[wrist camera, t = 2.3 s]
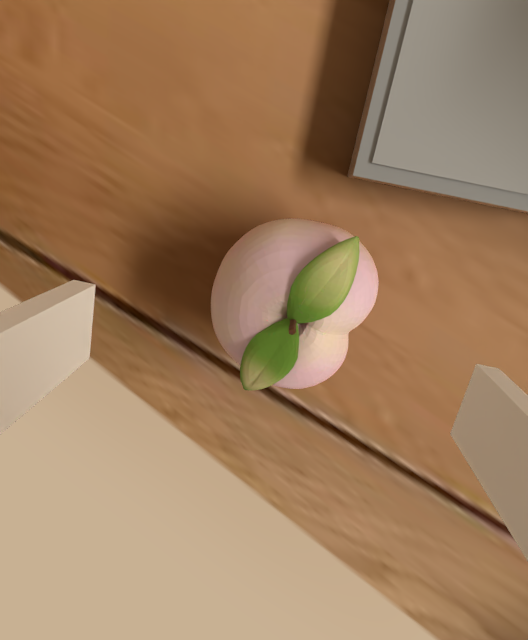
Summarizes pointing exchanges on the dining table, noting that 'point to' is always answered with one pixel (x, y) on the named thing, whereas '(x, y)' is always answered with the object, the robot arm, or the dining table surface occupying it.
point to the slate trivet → (449, 102)
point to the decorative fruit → (291, 301)
